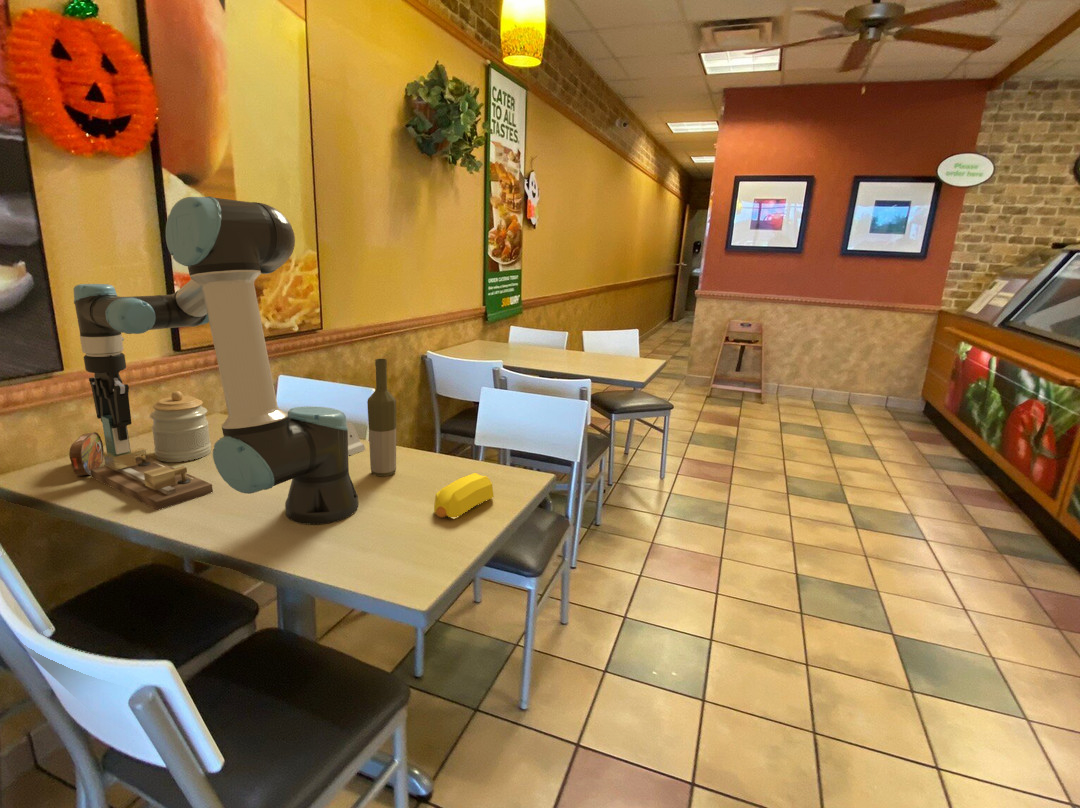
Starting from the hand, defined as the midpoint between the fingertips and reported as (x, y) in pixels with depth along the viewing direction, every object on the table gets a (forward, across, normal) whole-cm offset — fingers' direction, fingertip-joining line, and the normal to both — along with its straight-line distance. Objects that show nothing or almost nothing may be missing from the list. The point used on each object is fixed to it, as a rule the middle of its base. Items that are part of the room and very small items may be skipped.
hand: (118, 450), depth 137 cm
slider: (+4, 0, -2) cm, 5 cm away
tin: (+7, +12, +2) cm, 14 cm away
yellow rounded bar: (+8, -75, -37) cm, 84 cm away
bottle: (+7, -46, -40) cm, 61 cm away
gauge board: (+7, -9, -2) cm, 12 cm away
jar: (+7, +5, -17) cm, 19 cm away
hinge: (+7, -26, -41) cm, 49 cm away
